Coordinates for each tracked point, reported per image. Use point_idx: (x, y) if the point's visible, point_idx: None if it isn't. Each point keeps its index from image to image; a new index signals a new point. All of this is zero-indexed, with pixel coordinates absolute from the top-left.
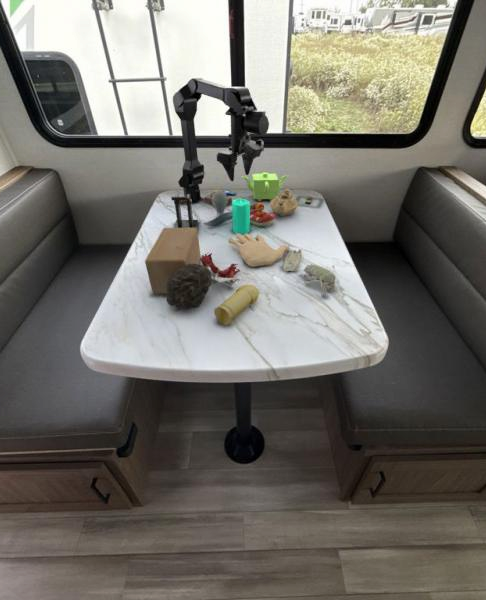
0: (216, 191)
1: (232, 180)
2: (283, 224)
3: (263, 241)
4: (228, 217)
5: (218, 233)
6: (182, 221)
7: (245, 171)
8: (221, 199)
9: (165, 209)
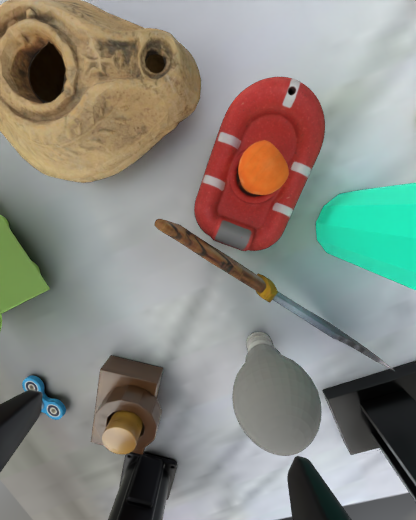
0: (127, 444)
1: (313, 469)
2: (231, 65)
3: None
4: (302, 307)
5: (395, 296)
6: (357, 435)
7: (10, 451)
8: (313, 393)
9: (253, 505)
